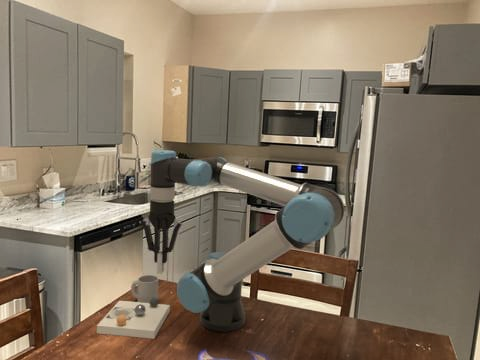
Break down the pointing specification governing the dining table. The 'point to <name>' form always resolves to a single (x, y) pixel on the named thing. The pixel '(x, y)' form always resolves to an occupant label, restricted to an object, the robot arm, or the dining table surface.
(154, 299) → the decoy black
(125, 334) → the board
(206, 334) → the dining table surface
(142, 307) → the ball
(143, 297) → the cup
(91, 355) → the dining table surface
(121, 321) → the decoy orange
